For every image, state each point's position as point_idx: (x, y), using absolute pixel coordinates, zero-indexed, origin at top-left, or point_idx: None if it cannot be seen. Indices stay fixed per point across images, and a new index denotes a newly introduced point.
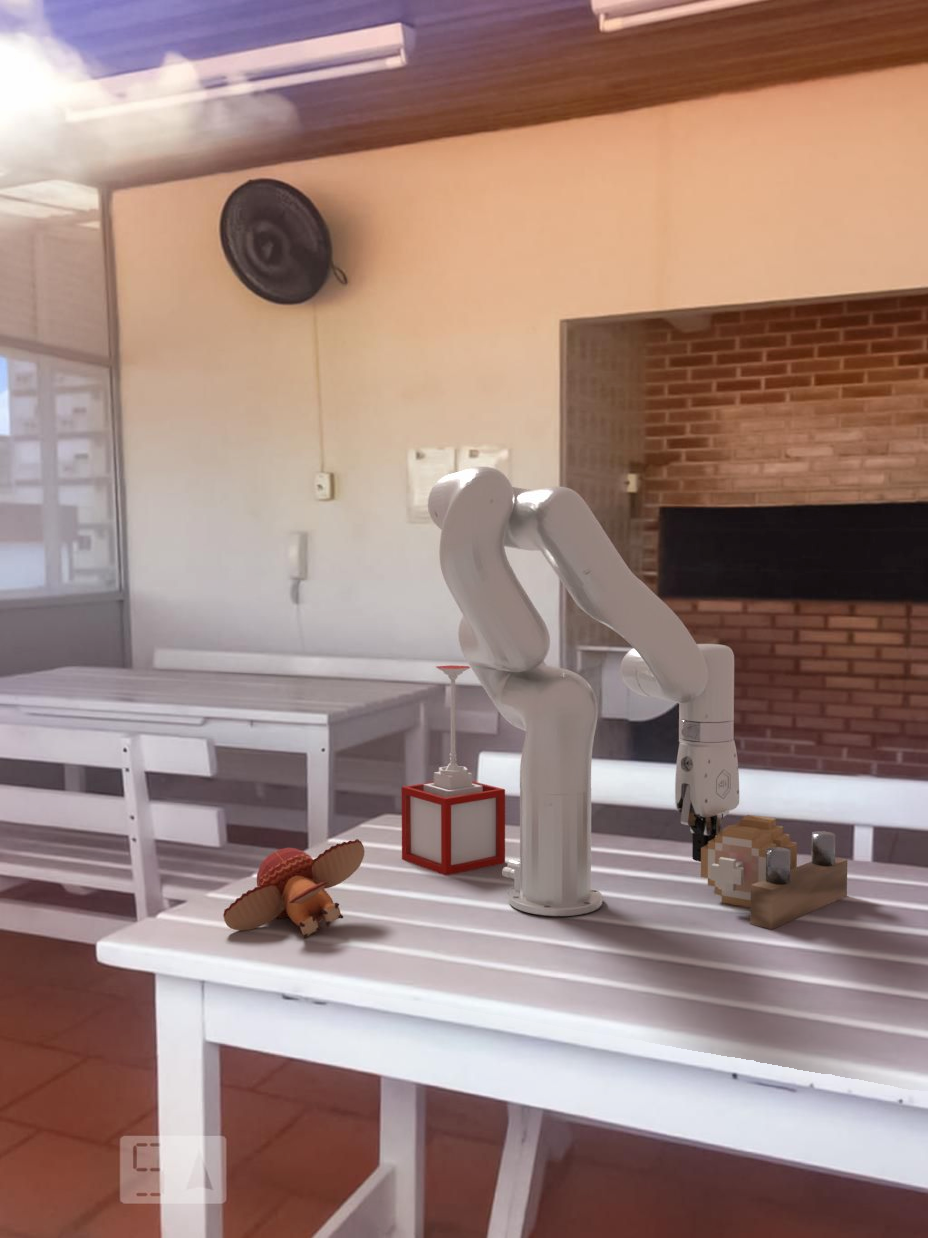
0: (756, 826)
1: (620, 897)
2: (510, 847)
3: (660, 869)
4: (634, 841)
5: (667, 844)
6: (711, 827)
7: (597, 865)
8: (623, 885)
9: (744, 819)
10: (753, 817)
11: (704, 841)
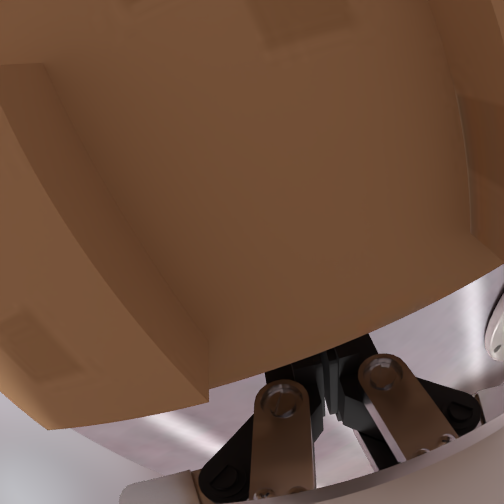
0: (108, 206)
1: (481, 278)
2: (343, 476)
3: (257, 387)
4: (172, 470)
5: (129, 451)
6: (312, 417)
7: (334, 425)
8: (415, 335)
9: (181, 377)
10: (31, 375)
11: (372, 343)
